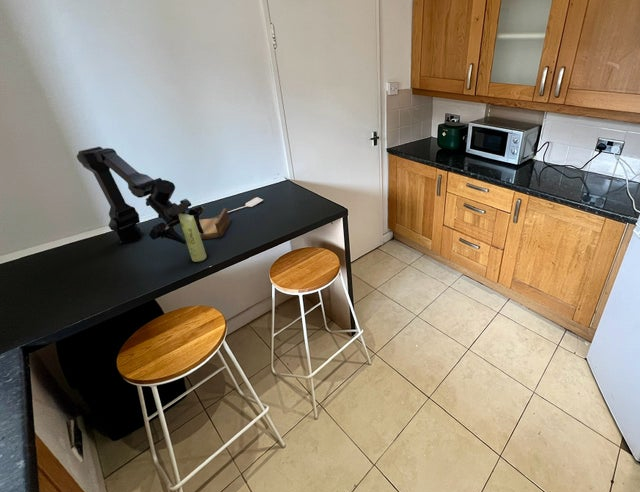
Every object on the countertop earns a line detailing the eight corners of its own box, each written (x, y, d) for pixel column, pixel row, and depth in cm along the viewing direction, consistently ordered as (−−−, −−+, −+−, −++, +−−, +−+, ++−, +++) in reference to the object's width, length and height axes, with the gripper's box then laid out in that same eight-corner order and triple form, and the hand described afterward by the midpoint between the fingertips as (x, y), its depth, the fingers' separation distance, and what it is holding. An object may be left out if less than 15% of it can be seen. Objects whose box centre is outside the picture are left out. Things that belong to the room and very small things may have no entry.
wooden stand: (186, 240, 132) (180, 226, 129) (197, 224, 145) (193, 211, 141) (222, 237, 135) (217, 223, 132) (230, 221, 147) (226, 208, 144)
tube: (189, 263, 118) (174, 218, 110) (191, 256, 122) (177, 212, 114) (206, 260, 120) (193, 215, 112) (207, 253, 124) (195, 209, 116)
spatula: (264, 202, 166) (263, 199, 165) (207, 225, 144) (206, 222, 143) (257, 199, 169) (256, 196, 168) (200, 221, 147) (199, 218, 147)
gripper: (142, 206, 103) (176, 241, 104) (193, 186, 119) (222, 216, 120) (135, 223, 109) (168, 255, 110) (185, 201, 125) (213, 230, 126)
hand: (194, 238), depth 117 cm, fingers open, 7 cm apart
